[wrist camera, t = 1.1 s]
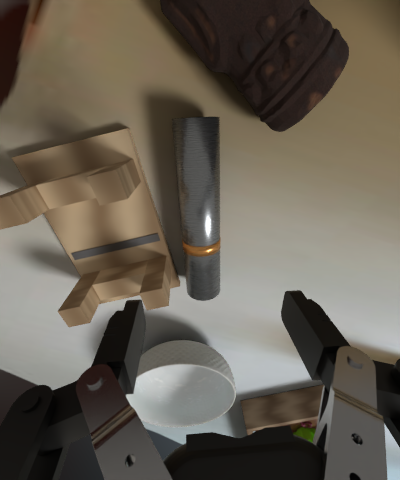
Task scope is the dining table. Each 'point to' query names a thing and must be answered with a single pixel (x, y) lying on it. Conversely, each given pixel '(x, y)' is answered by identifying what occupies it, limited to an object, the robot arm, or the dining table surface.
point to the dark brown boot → (265, 51)
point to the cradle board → (97, 221)
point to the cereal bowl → (182, 385)
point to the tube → (199, 202)
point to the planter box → (282, 408)
